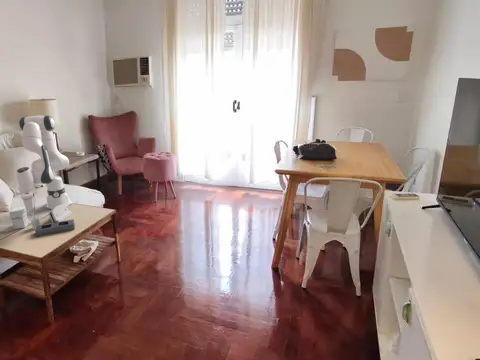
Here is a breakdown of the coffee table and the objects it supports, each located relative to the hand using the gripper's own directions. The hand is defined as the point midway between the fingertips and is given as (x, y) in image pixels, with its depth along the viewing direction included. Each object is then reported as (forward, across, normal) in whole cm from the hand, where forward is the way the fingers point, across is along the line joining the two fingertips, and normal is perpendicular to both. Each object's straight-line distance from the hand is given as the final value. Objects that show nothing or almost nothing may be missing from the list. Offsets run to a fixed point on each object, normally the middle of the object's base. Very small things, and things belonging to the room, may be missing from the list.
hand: (33, 212), depth 224 cm
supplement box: (+11, -9, -10) cm, 18 cm away
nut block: (+11, -1, 0) cm, 11 cm away
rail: (+12, +10, +12) cm, 20 cm away
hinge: (+12, -12, +14) cm, 22 cm away
